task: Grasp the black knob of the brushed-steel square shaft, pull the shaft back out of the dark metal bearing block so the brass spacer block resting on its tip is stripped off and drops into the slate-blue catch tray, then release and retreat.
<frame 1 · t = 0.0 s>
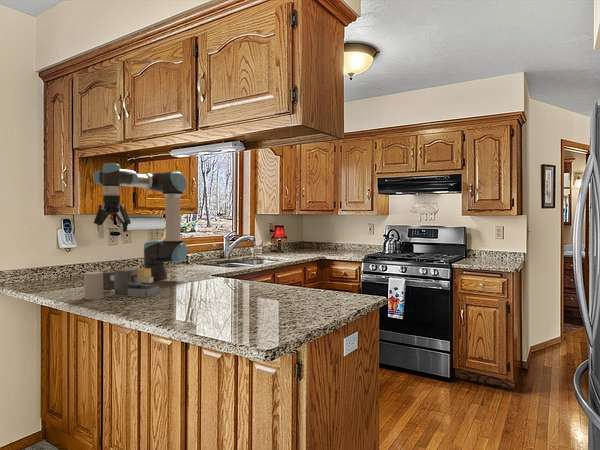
hand: (112, 238, 209), 28 cm above the worktop, fingers open, 13 cm apart
spacer: (144, 276, 211), point 9 cm above the worktop, touching shaft
bearing block: (128, 293, 214), on the worktop
grey upright block: (94, 298, 203), on the worktop
shaft: (127, 282, 214), point 6 cm above the worktop, slide at 0.0 cm, touching spacer
tray: (143, 294, 211), on the worktop
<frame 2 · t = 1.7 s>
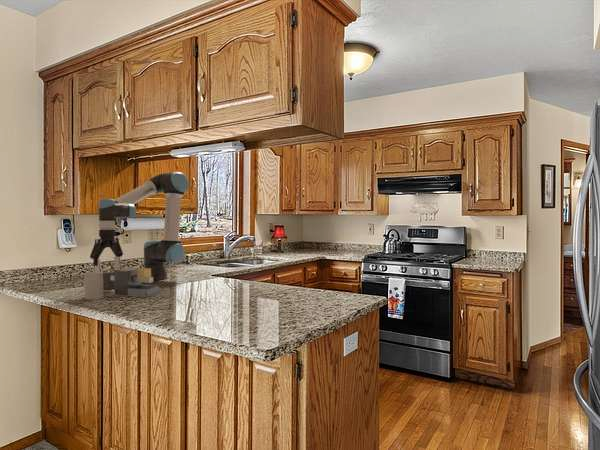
hand: (107, 270, 217), 11 cm above the worktop, fingers open, 13 cm apart
nothing on the worktop moved.
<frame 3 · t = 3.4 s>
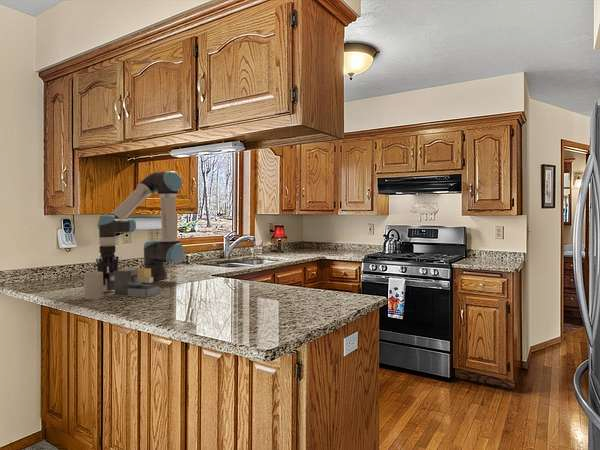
hand: (108, 290, 218), 1 cm above the worktop, fingers closed on shaft, 4 cm apart
shaft: (127, 282, 214), point 5 cm above the worktop, slide at 0.0 cm, touching gripper, spacer
everything else where it was.
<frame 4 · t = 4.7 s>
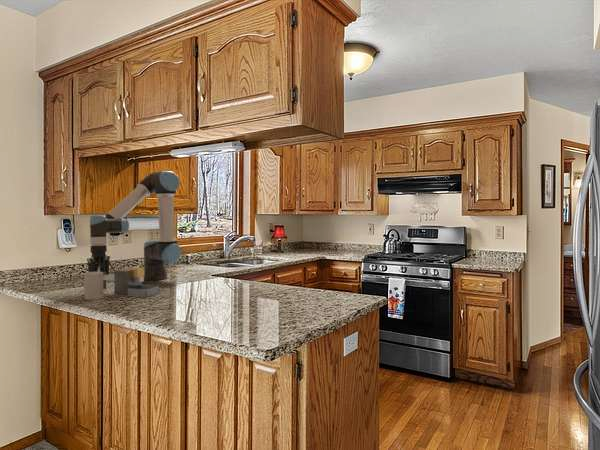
hand: (99, 289, 220), 1 cm above the worktop, fingers closed on shaft, 4 cm apart
spacer: (137, 276, 212), point 9 cm above the worktop, touching bearing block
shaft: (118, 281, 216), point 5 cm above the worktop, slide at 5.6 cm, touching gripper
everything else where it was.
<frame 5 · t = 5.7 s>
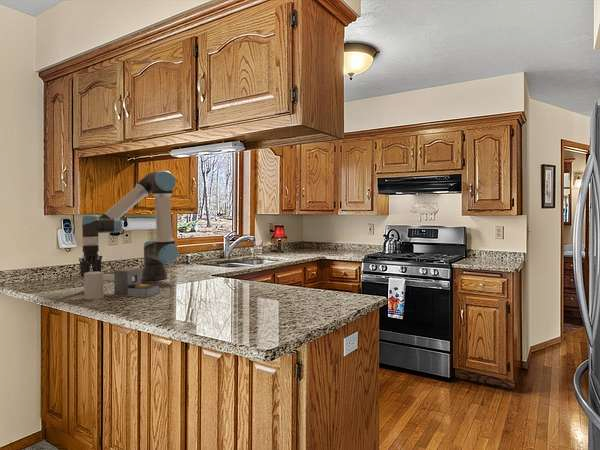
hand: (91, 289, 222), 1 cm above the worktop, fingers closed on shaft, 4 cm apart
spacer: (138, 288, 213), point 2 cm above the worktop, tilted 90°, touching tray
shaft: (110, 281, 218), point 5 cm above the worktop, slide at 10.8 cm, touching gripper
everything else where it was.
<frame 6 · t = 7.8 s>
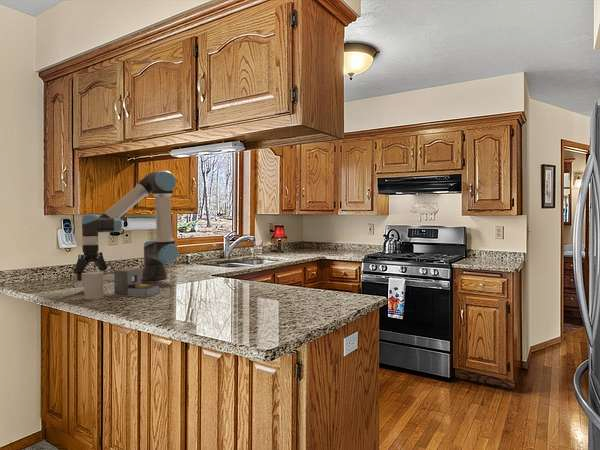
hand: (91, 284, 222), 3 cm above the worktop, fingers open, 13 cm apart
shaft: (109, 281, 218), point 5 cm above the worktop, slide at 10.9 cm
everything else where it was.
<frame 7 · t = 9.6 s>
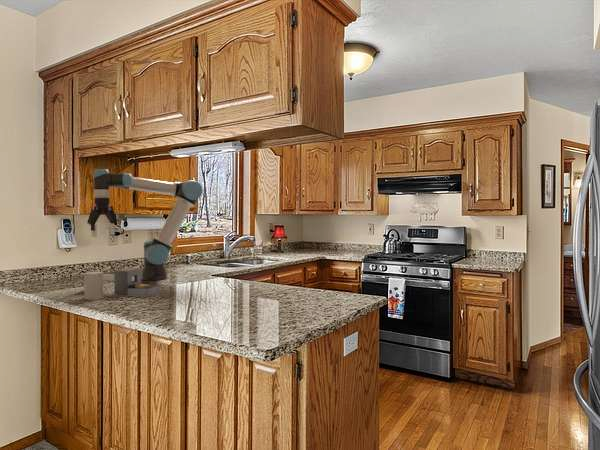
hand: (103, 235, 235), 28 cm above the worktop, fingers open, 13 cm apart
nothing on the worktop moved.
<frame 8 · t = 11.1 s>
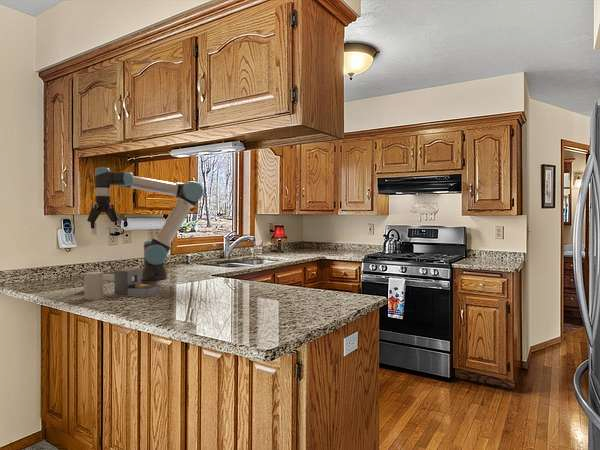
hand: (103, 233, 237), 29 cm above the worktop, fingers open, 13 cm apart
nothing on the worktop moved.
at the end: shaft slide at 10.9 cm; spacer point 2.5 cm above the worktop; spacer inside the target area on the tray (3.6 cm from its centre), point 2.5 cm above the tray's base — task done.
